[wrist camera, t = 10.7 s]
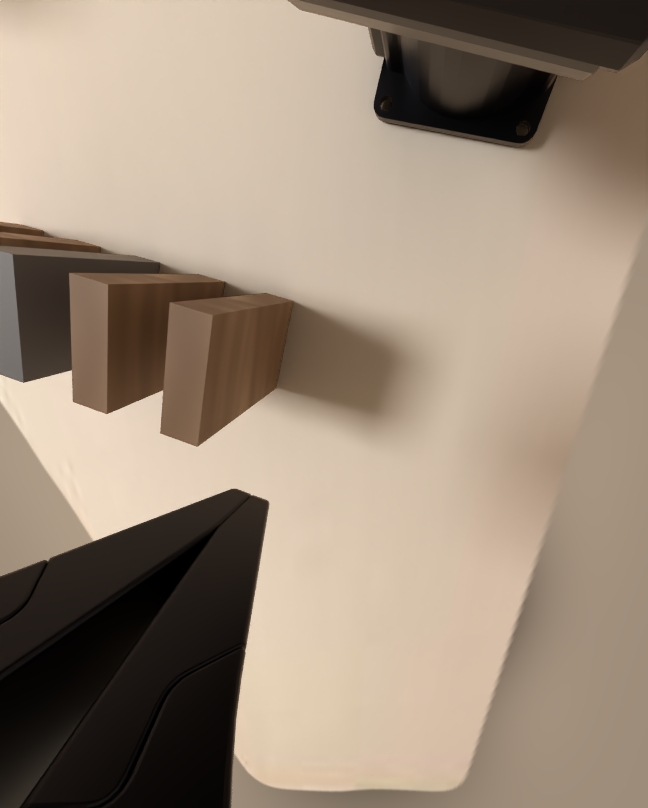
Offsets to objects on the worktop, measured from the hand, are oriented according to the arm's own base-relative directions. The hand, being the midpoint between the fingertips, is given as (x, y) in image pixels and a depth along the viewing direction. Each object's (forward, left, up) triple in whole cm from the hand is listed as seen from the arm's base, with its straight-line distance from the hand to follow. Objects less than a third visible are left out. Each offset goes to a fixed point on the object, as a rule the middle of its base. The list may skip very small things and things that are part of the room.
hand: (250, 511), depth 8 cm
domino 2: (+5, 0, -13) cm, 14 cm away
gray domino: (+13, 0, -13) cm, 18 cm away
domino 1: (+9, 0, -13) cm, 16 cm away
